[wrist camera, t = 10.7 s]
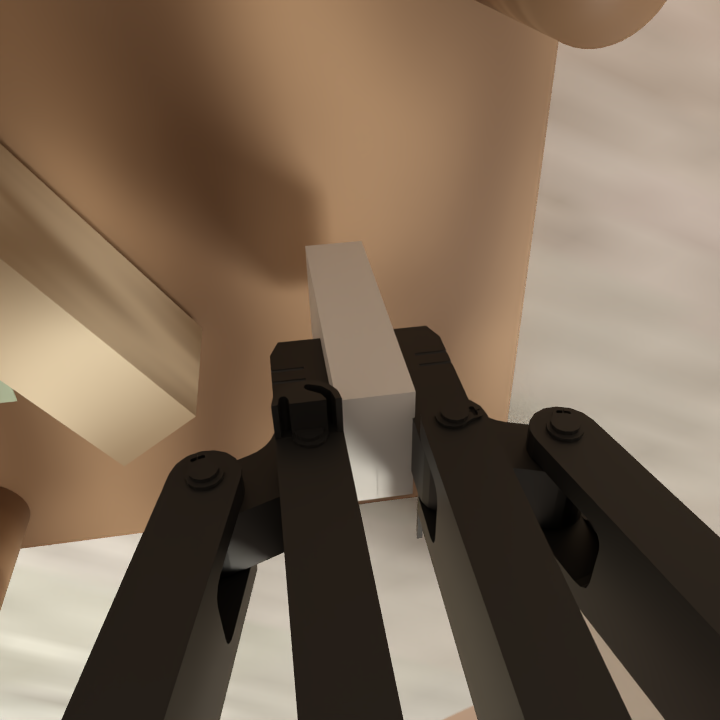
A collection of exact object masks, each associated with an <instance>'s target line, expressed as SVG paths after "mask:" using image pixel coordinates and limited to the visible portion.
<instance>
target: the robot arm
mask: <svg viewBox="0 0 720 720" xmlns="http://www.w3.org/2000/svg"><path fill="white" fill-rule="evenodd" d="M305 251H306V263H307V276H308V289H309V302H310V315H311V328H312V336H313V339H307V340H297V341H288V342H278V343H277V345H276V346H275V348H274V350H273V351H272V353H271V355H270V365H271V378H272V391H273V399H272V403H271V411H272V419H273V426H274V434H273V436H272V438H271V440H270V441H269V442H268V443H267V444H266V446H264V447H263V448H261V449H260V450H259V451H257V452H255V453H253V454H251V455H249V456H246V457H244V458H241V459H238V460H237V459H236V458H235V457H233V456H231V455H230V454H228V453H227V452H221V451H216V450H210V451H200V452H197V453H195V454H192V455H189V456H187V457H185V458H184V459H182V460H181V461H180V462H178V463H177V464H176V465H175V466H174V467H173V469H172V470H171V472H170V473H169V475H168V477H167V480H166V482H165V484H164V486H163V489H162V491H161V493H160V496H159V498H158V500H157V502H156V505H155V507H154V509H153V512H152V514H151V516H150V518H149V521H148V523H147V525H146V528H145V530H144V532H143V534H142V537H141V539H140V541H139V544H138V546H137V548H136V550H135V553H134V555H133V557H132V560H131V562H130V564H129V566H128V569H127V571H126V573H125V576H124V578H123V580H122V582H121V585H120V587H119V589H118V592H117V594H116V596H115V598H114V601H113V603H112V605H111V608H110V610H109V612H108V614H107V617H106V619H105V621H104V624H103V626H102V628H101V630H100V633H99V635H98V637H97V640H96V642H95V644H94V646H93V649H92V651H91V653H90V656H89V658H88V660H87V662H86V665H85V667H84V669H83V672H82V674H81V676H80V678H79V681H78V683H77V685H76V688H75V690H74V692H73V694H72V697H71V699H70V701H69V704H68V706H67V708H66V710H65V713H64V715H63V717H62V720H220V716H221V712H222V708H223V704H224V700H225V696H226V692H227V688H228V684H229V680H230V676H231V672H232V668H233V664H234V660H235V656H236V652H237V648H238V644H239V640H240V636H241V632H242V628H243V624H244V620H245V616H246V612H247V608H248V604H249V600H250V596H251V592H252V588H253V584H254V580H255V576H256V572H257V564H258V563H261V562H263V561H265V560H268V559H270V558H272V557H274V556H277V555H279V554H281V553H283V552H284V554H285V567H286V579H287V591H288V604H289V616H290V628H291V641H292V653H293V666H294V678H295V690H296V703H297V715H298V720H403V715H402V711H401V706H400V701H399V696H398V691H397V686H396V682H395V677H394V672H393V667H392V662H391V657H390V653H389V648H388V643H387V638H386V633H385V628H384V624H383V619H382V614H381V609H380V604H379V599H378V595H377V590H376V585H375V580H374V575H373V570H372V566H371V561H370V556H369V551H368V546H367V541H366V537H365V532H364V527H363V522H362V517H361V512H360V508H359V503H358V501H362V500H370V499H377V498H385V497H392V496H400V495H407V494H413V479H414V482H415V485H416V488H417V492H418V508H417V538H422V531H423V533H424V536H425V540H426V543H427V546H428V550H429V553H430V557H431V560H432V564H433V567H434V571H435V574H436V578H437V581H438V584H439V588H440V591H441V595H442V598H443V602H444V605H445V609H446V612H447V615H448V619H449V622H450V626H451V629H452V633H453V636H454V640H455V643H456V646H457V650H458V653H459V657H460V660H461V664H462V667H463V671H464V674H465V677H466V681H467V684H468V688H469V691H470V695H471V698H472V702H473V705H474V708H475V712H476V715H477V719H478V720H632V719H631V717H630V715H629V712H628V710H627V708H626V706H625V704H624V702H623V700H622V698H621V696H620V693H619V691H618V689H617V687H616V685H615V683H614V681H613V679H612V677H611V674H610V672H609V670H608V668H607V666H606V664H605V662H604V660H603V658H602V656H601V653H600V651H599V649H598V647H597V645H596V643H595V641H594V639H593V637H592V634H591V632H590V630H589V628H588V626H587V624H586V622H585V620H584V618H583V615H584V616H585V617H586V618H587V620H588V621H589V622H590V624H591V625H592V626H593V627H594V629H595V630H596V631H597V633H598V634H599V635H600V636H601V638H602V639H603V640H604V642H605V643H606V644H607V646H608V647H609V648H610V649H611V651H612V652H613V653H614V655H615V656H616V657H617V658H618V660H619V661H620V662H621V664H622V665H623V666H624V667H625V669H626V670H627V671H628V673H629V674H630V675H631V677H632V678H633V679H634V680H635V682H636V683H637V684H638V686H639V687H640V688H641V689H642V691H643V692H644V693H645V695H646V696H647V697H648V698H649V700H650V701H651V702H652V704H653V705H654V706H655V707H656V709H657V710H658V711H659V713H660V714H661V715H662V717H663V718H664V719H665V720H720V537H719V536H718V535H717V534H715V533H714V532H713V531H712V530H711V529H710V528H709V527H708V526H707V525H706V524H705V523H704V522H703V521H701V520H700V519H699V518H698V517H697V516H696V515H695V514H694V513H693V512H692V511H691V510H690V509H689V508H687V507H686V506H685V505H684V504H683V503H682V502H681V501H680V500H679V499H678V498H677V497H676V496H675V495H673V494H672V493H671V492H670V491H669V490H668V489H667V488H666V487H665V486H664V485H663V484H662V483H661V482H659V481H658V480H657V479H656V478H655V477H654V476H653V475H652V474H651V473H650V472H649V471H648V470H647V469H645V468H644V467H643V466H642V465H641V464H640V463H639V462H638V461H637V460H636V459H635V458H634V457H633V456H631V455H630V454H629V453H628V452H627V451H626V450H625V449H624V448H623V447H622V446H621V445H620V444H619V443H617V442H616V441H615V440H614V439H613V438H612V437H611V436H610V435H609V434H608V433H607V432H606V431H605V430H603V429H602V428H601V427H600V426H599V425H598V424H597V423H596V422H595V421H594V420H593V419H591V418H590V417H588V416H587V415H585V414H584V413H582V412H579V411H576V410H574V409H571V408H564V407H551V408H544V409H542V410H540V411H538V412H536V413H535V414H534V415H533V417H532V418H531V419H530V422H529V425H527V424H518V423H509V422H503V421H498V420H495V419H492V418H489V417H488V415H487V413H486V412H485V411H484V410H483V408H482V407H481V406H480V405H478V404H476V403H475V402H473V401H471V400H469V399H468V397H467V395H466V392H465V390H464V388H463V386H462V384H461V381H460V379H459V377H458V375H457V373H456V370H455V368H454V366H453V364H452V363H451V360H450V357H449V355H448V353H447V352H446V349H445V346H444V344H443V342H442V340H441V338H440V336H439V335H437V334H436V333H435V332H434V331H432V330H431V329H430V328H429V327H427V326H417V327H407V328H398V329H393V327H392V324H391V322H390V319H389V316H388V313H387V311H386V308H385V305H384V302H383V299H382V297H381V294H380V291H379V288H378V286H377V283H376V280H375V277H374V274H373V272H372V269H371V266H370V263H369V261H368V258H367V255H366V252H365V249H364V247H363V244H362V241H355V242H344V243H333V244H322V245H311V246H305ZM581 612H582V613H583V615H582V613H581Z"/></svg>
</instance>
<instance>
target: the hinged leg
mask: <svg viewBox="0 0 720 720" xmlns="http://www.w3.org/2000/svg"><path fill="white" fill-rule="evenodd" d="M201 339H202V328H201V327H200V326H199V325H198V324H197V323H196V322H195V321H194V320H193V319H191V318H190V317H189V316H188V315H187V314H186V313H185V312H184V311H183V310H182V309H181V308H179V307H178V306H177V305H176V304H175V303H174V302H173V301H172V300H171V299H170V298H169V297H167V296H166V295H165V294H164V293H163V292H162V291H161V290H160V289H159V288H158V287H156V286H155V285H154V284H153V283H152V282H151V281H150V280H149V279H148V278H147V277H146V276H144V275H143V274H142V273H141V272H140V271H139V270H138V269H137V268H136V267H135V266H134V265H132V264H131V263H130V262H129V261H128V260H127V259H126V258H125V257H124V256H123V255H121V254H120V253H119V252H118V251H117V250H116V249H115V248H114V247H113V246H112V245H111V244H109V243H108V242H107V241H106V240H105V239H104V238H103V237H102V236H101V235H100V234H99V233H97V232H96V231H95V230H94V229H93V228H92V227H91V226H90V225H89V224H88V223H86V222H85V221H84V220H83V219H82V218H81V217H80V216H79V215H78V214H77V213H76V212H74V211H73V210H72V209H71V208H70V207H69V206H68V205H67V204H66V203H65V202H64V201H62V200H61V199H60V198H59V197H58V196H57V195H56V194H55V193H54V192H53V191H51V190H50V189H49V188H48V187H47V186H46V185H45V184H44V183H43V182H42V181H41V180H39V179H38V178H37V177H36V176H35V175H34V174H33V173H32V172H31V171H30V170H29V169H27V168H26V167H25V166H24V165H23V164H22V163H21V162H20V161H19V160H18V159H16V158H15V157H14V156H13V155H12V154H11V153H10V152H9V151H8V150H7V149H6V148H4V147H3V146H2V145H1V144H0V381H2V382H3V383H5V384H6V385H8V386H9V387H11V388H12V389H13V390H15V391H16V392H18V393H19V394H21V395H22V396H24V397H25V398H26V399H28V400H29V401H31V402H32V403H34V404H35V405H37V406H38V407H39V408H41V409H42V410H44V411H45V412H47V413H48V414H49V415H51V416H52V417H54V418H55V419H57V420H58V421H60V422H61V423H62V424H64V425H65V426H67V427H68V428H70V429H71V430H73V431H74V432H75V433H77V434H78V435H80V436H81V437H83V438H84V439H86V440H87V441H88V442H90V443H91V444H93V445H94V446H96V447H97V448H98V449H100V450H101V451H103V452H104V453H106V454H107V455H109V456H110V457H111V458H113V459H114V460H116V461H117V462H119V463H120V464H122V465H123V466H126V465H127V464H128V463H130V462H131V461H133V460H134V459H136V458H137V457H138V456H140V455H141V454H143V453H144V452H146V451H147V450H148V449H150V448H151V447H153V446H154V445H156V444H157V443H158V442H160V441H161V440H163V439H164V438H166V437H167V436H168V435H170V434H171V433H173V432H174V431H176V430H177V429H178V428H180V427H181V426H183V425H184V424H186V423H187V422H188V421H190V420H191V419H193V418H194V417H196V407H197V394H198V380H199V366H200V353H201Z"/></svg>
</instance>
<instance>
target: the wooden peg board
mask: <svg viewBox="0 0 720 720" xmlns="http://www.w3.org/2000/svg"><path fill="white" fill-rule="evenodd" d="M666 1H667V0H0V144H1V145H2V146H3V147H4V148H6V149H7V150H8V151H9V152H10V153H11V154H12V155H13V156H14V157H15V158H16V159H18V160H19V161H20V162H21V163H22V164H23V165H24V166H25V167H26V168H27V169H29V170H30V171H31V172H32V173H33V174H34V175H35V176H36V177H37V178H38V179H39V180H41V181H42V182H43V183H44V184H45V185H46V186H47V187H48V188H49V189H50V190H51V191H53V192H54V193H55V194H56V195H57V196H58V197H59V198H60V199H61V200H62V201H64V202H65V203H66V204H67V205H68V206H69V207H70V208H71V209H72V210H73V211H74V212H76V213H77V214H78V215H79V216H80V217H81V218H82V219H83V220H84V221H85V222H86V223H88V224H89V225H90V226H91V227H92V228H93V229H94V230H95V231H96V232H97V233H99V234H100V235H101V236H102V237H103V238H104V239H105V240H106V241H107V242H108V243H109V244H111V245H112V246H113V247H114V248H115V249H116V250H117V251H118V252H119V253H120V254H121V255H123V256H124V257H125V258H126V259H127V260H128V261H129V262H130V263H131V264H132V265H134V266H135V267H136V268H137V269H138V270H139V271H140V272H141V273H142V274H143V275H144V276H146V277H147V278H148V279H149V280H150V281H151V282H152V283H153V284H154V285H155V286H156V287H158V288H159V289H160V290H161V291H162V292H163V293H164V294H165V295H166V296H167V297H169V298H170V299H171V300H172V301H173V302H174V303H175V304H176V305H177V306H178V307H179V308H181V309H182V310H183V311H184V312H185V313H186V314H187V315H188V316H189V317H190V318H191V319H193V320H194V321H195V322H196V323H197V324H198V325H199V326H200V327H201V328H202V339H201V353H200V366H199V380H198V394H197V407H196V417H194V418H193V419H191V420H190V421H188V422H187V423H186V424H184V425H183V426H181V427H180V428H178V429H177V430H176V431H174V432H173V433H171V434H170V435H168V436H167V437H166V438H164V439H163V440H161V441H160V442H158V443H157V444H156V445H154V446H153V447H151V448H150V449H148V450H147V451H146V452H144V453H143V454H141V455H140V456H138V457H137V458H136V459H134V460H133V461H131V462H130V463H128V464H127V465H126V466H123V465H122V464H120V463H119V462H117V461H116V460H114V459H113V458H111V457H110V456H109V455H107V454H106V453H104V452H103V451H101V450H100V449H98V448H97V447H96V446H94V445H93V444H91V443H90V442H88V441H87V440H86V439H84V438H83V437H81V436H80V435H78V434H77V433H75V432H74V431H73V430H71V429H70V428H68V427H67V426H65V425H64V424H62V423H61V422H60V421H58V420H57V419H55V418H54V417H52V416H51V415H49V414H48V413H47V412H45V411H44V410H42V409H41V408H39V407H38V406H37V405H35V404H34V403H32V402H31V401H29V400H28V399H26V398H25V397H24V396H22V395H21V394H19V393H18V392H16V391H15V390H13V389H12V388H11V387H9V386H8V385H6V384H5V383H3V382H2V381H0V610H1V607H2V604H3V600H4V597H5V594H6V591H7V588H8V585H9V582H10V579H11V576H12V573H13V569H14V566H15V563H16V560H17V557H18V554H19V551H20V549H21V548H29V547H36V546H44V545H52V544H59V543H67V542H75V541H82V540H90V539H98V538H105V537H113V536H120V535H128V534H136V533H143V532H144V530H145V528H146V525H147V523H148V521H149V518H150V516H151V514H152V512H153V509H154V507H155V505H156V502H157V500H158V498H159V496H160V493H161V491H162V489H163V486H164V484H165V482H166V480H167V477H168V475H169V473H170V472H171V470H172V469H173V467H174V466H175V465H176V464H177V463H178V462H180V461H181V460H182V459H184V458H185V457H187V456H189V455H192V454H195V453H197V452H200V451H210V450H216V451H221V452H227V453H228V454H230V455H231V456H233V457H235V458H236V459H237V460H238V459H241V458H244V457H246V456H249V455H251V454H253V453H255V452H257V451H259V450H260V449H261V448H263V447H264V446H266V444H267V443H268V442H269V441H270V440H271V438H272V436H273V434H274V426H273V419H272V411H271V403H272V399H273V391H272V378H271V365H270V355H271V353H272V351H273V350H274V348H275V346H276V345H277V343H278V342H288V341H297V340H307V339H313V336H312V328H311V315H310V302H309V289H308V276H307V263H306V251H305V246H311V245H322V244H333V243H344V242H355V241H362V244H363V247H364V249H365V252H366V255H367V258H368V261H369V263H370V266H371V269H372V272H373V274H374V277H375V280H376V283H377V286H378V288H379V291H380V294H381V297H382V299H383V302H384V305H385V308H386V311H387V313H388V316H389V319H390V322H391V324H392V327H393V329H398V328H407V327H417V326H427V327H429V328H430V329H431V330H432V331H434V332H435V333H436V334H437V335H439V336H440V338H441V340H442V342H443V344H444V346H445V349H446V352H447V353H448V355H449V357H450V360H451V363H452V364H453V366H454V368H455V370H456V373H457V375H458V377H459V379H460V381H461V384H462V386H463V388H464V390H465V392H466V395H467V397H468V399H469V400H471V401H473V402H475V403H476V404H478V405H480V406H481V407H482V408H483V410H484V411H485V412H486V413H487V415H488V417H489V418H492V419H495V420H498V421H503V422H507V419H508V412H509V404H510V397H511V390H512V382H513V375H514V367H515V360H516V352H517V345H518V338H519V330H520V323H521V315H522V308H523V301H524V293H525V286H526V278H527V271H528V263H529V256H530V249H531V241H532V234H533V226H534V219H535V211H536V204H537V197H538V189H539V182H540V174H541V167H542V159H543V152H544V145H545V137H546V130H547V122H548V115H549V108H550V100H551V93H552V85H553V78H554V70H555V63H556V56H557V48H558V41H559V42H561V43H563V44H566V45H569V46H572V47H575V48H581V49H596V48H603V47H606V46H610V45H613V44H616V43H618V42H620V41H623V40H624V39H626V38H628V37H630V36H631V35H633V34H634V33H636V32H637V31H639V30H640V29H641V28H642V27H644V26H645V25H646V24H647V23H648V22H649V21H650V20H651V19H652V18H653V17H654V16H655V15H656V14H657V13H658V11H659V10H660V9H661V7H662V6H663V5H664V3H665V2H666ZM410 497H418V492H417V488H416V485H415V482H414V479H413V494H407V495H400V496H392V497H385V498H377V499H370V500H362V501H358V503H359V504H365V503H372V502H380V501H387V500H395V499H403V498H410Z"/></svg>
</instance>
